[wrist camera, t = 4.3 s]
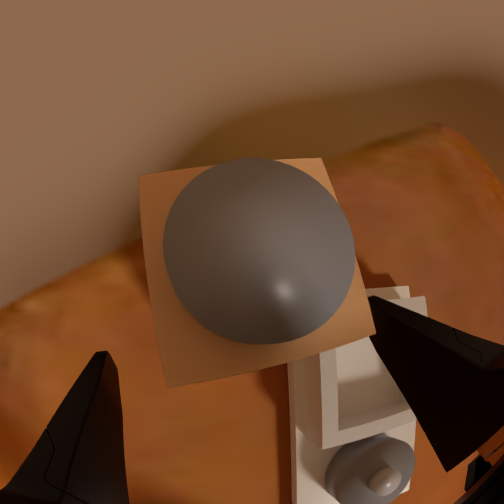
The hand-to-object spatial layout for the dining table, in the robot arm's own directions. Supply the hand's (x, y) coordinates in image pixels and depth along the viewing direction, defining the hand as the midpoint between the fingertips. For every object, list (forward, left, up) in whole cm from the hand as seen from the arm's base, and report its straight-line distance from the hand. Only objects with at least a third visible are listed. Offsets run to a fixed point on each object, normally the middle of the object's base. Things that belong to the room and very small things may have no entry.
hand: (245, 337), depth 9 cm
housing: (-1, -11, -9) cm, 14 cm away
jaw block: (+1, +1, -9) cm, 9 cm away
